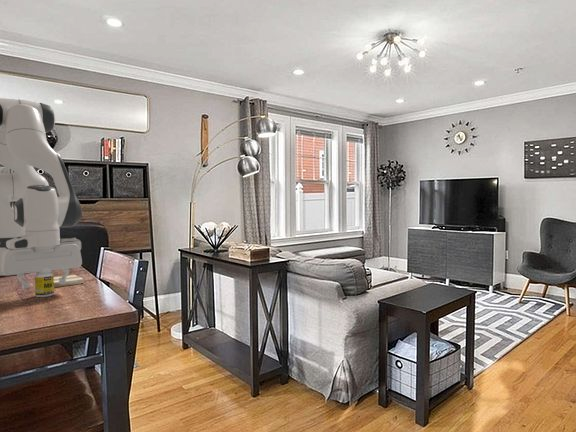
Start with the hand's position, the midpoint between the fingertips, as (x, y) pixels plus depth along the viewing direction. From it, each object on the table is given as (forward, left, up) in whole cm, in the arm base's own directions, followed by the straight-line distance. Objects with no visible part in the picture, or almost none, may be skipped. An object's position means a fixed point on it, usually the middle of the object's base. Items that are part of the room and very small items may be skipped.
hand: (44, 286), depth 117 cm
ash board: (-16, +8, -3) cm, 18 cm away
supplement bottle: (0, 0, -3) cm, 3 cm away
